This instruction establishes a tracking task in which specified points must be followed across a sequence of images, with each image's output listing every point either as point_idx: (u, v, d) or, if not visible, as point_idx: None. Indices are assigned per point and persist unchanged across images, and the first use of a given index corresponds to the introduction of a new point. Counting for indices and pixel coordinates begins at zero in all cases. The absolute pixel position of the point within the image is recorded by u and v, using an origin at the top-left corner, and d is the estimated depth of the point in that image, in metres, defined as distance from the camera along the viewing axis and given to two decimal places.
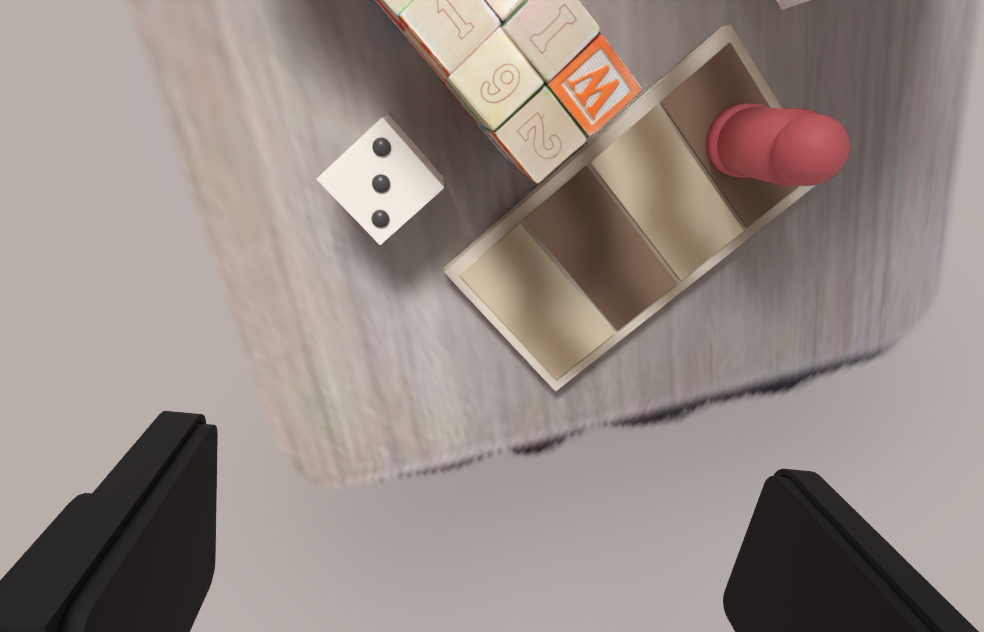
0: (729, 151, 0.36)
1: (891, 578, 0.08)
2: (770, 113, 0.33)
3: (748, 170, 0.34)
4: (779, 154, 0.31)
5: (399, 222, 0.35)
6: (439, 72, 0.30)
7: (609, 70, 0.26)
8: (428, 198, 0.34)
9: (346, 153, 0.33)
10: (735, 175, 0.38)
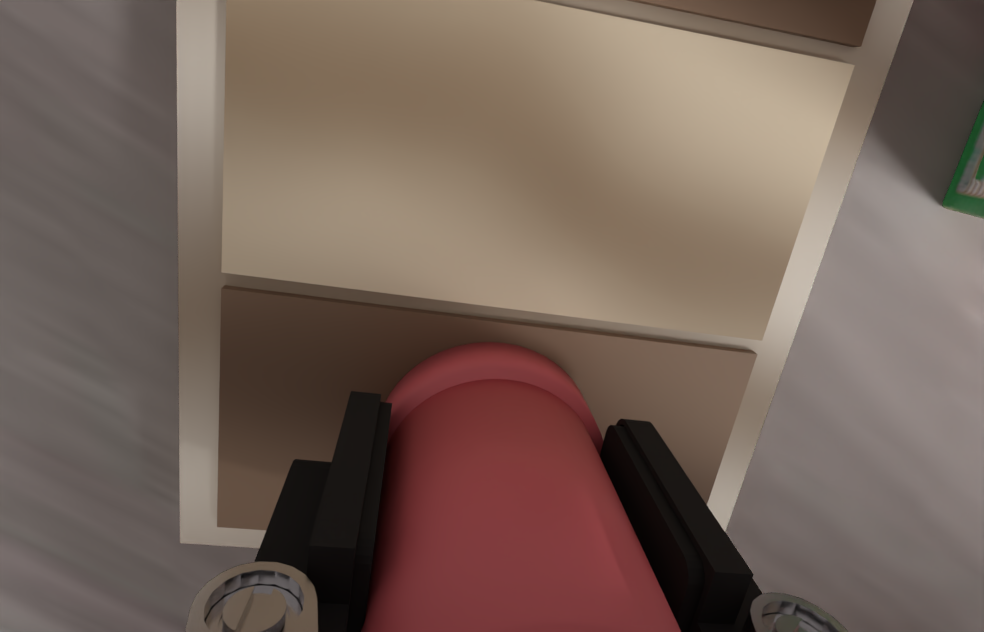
0: (578, 446, 0.09)
1: (676, 505, 0.09)
2: None
3: (533, 493, 0.08)
4: None
5: None
6: None
7: None
8: None
9: None
10: (438, 385, 0.10)
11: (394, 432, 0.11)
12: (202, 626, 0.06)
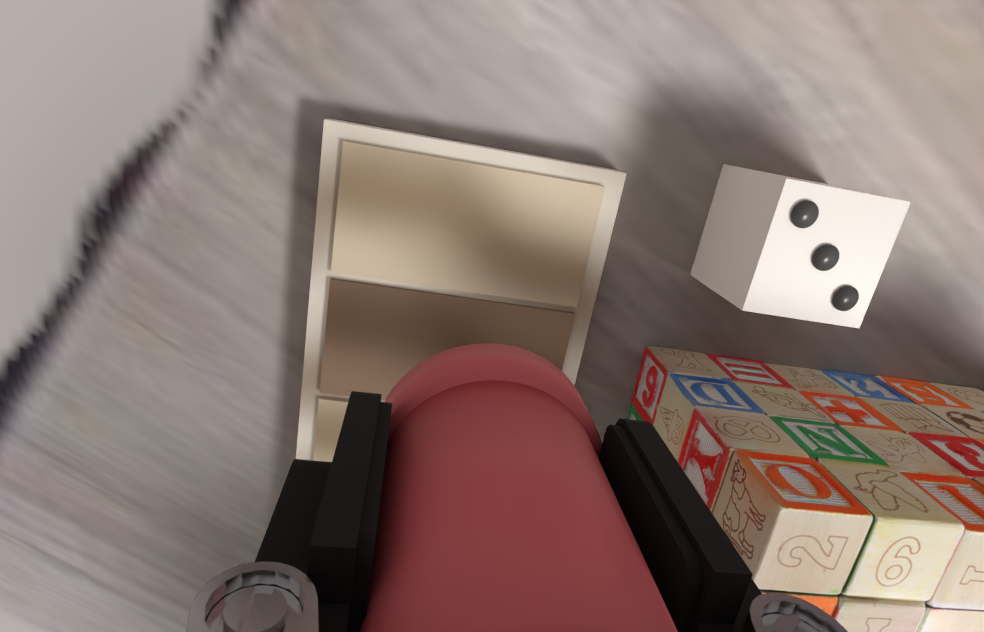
0: (575, 447, 0.09)
1: (675, 505, 0.09)
2: None
3: (531, 495, 0.08)
4: None
5: (776, 227, 0.22)
6: (861, 434, 0.23)
7: None
8: (755, 284, 0.23)
9: (884, 259, 0.23)
10: (436, 386, 0.10)
11: (392, 433, 0.11)
12: (203, 626, 0.06)
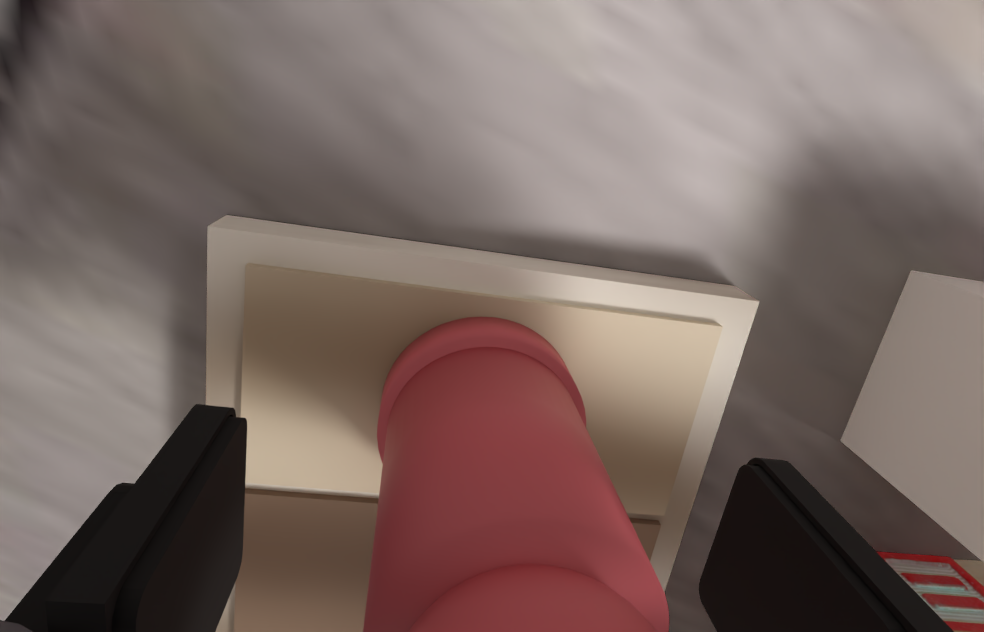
0: (558, 400, 0.11)
1: (853, 561, 0.08)
2: None
3: (518, 432, 0.09)
4: None
5: None
6: None
7: None
8: None
9: None
10: (437, 352, 0.12)
11: (398, 394, 0.12)
12: None
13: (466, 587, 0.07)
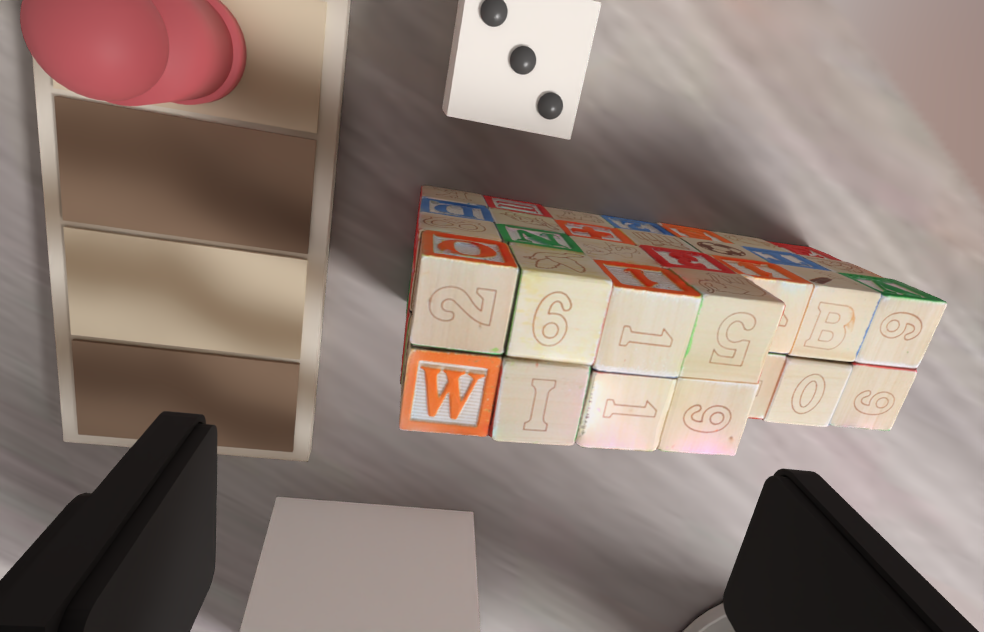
0: None
1: (891, 578, 0.08)
2: (200, 64, 0.20)
3: None
4: None
5: (467, 25, 0.22)
6: (583, 240, 0.24)
7: (448, 416, 0.20)
8: (455, 87, 0.23)
9: (584, 65, 0.23)
10: None
11: None
12: None
13: None
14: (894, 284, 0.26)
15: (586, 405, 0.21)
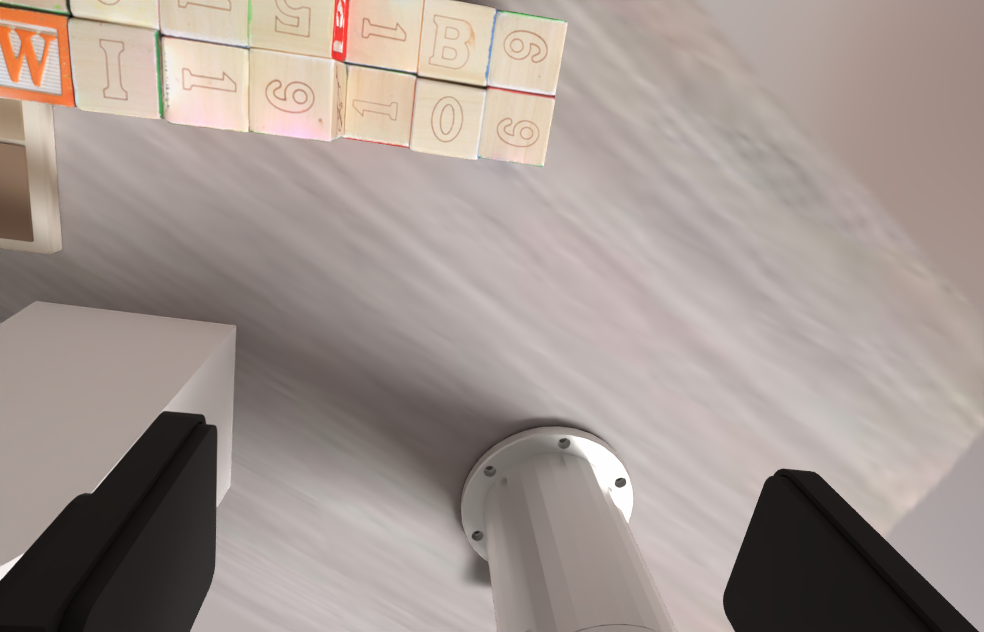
0: None
1: (891, 578, 0.08)
2: None
3: None
4: None
5: None
6: None
7: (32, 83, 0.22)
8: None
9: None
10: None
11: None
12: None
13: None
14: None
15: (164, 75, 0.22)
